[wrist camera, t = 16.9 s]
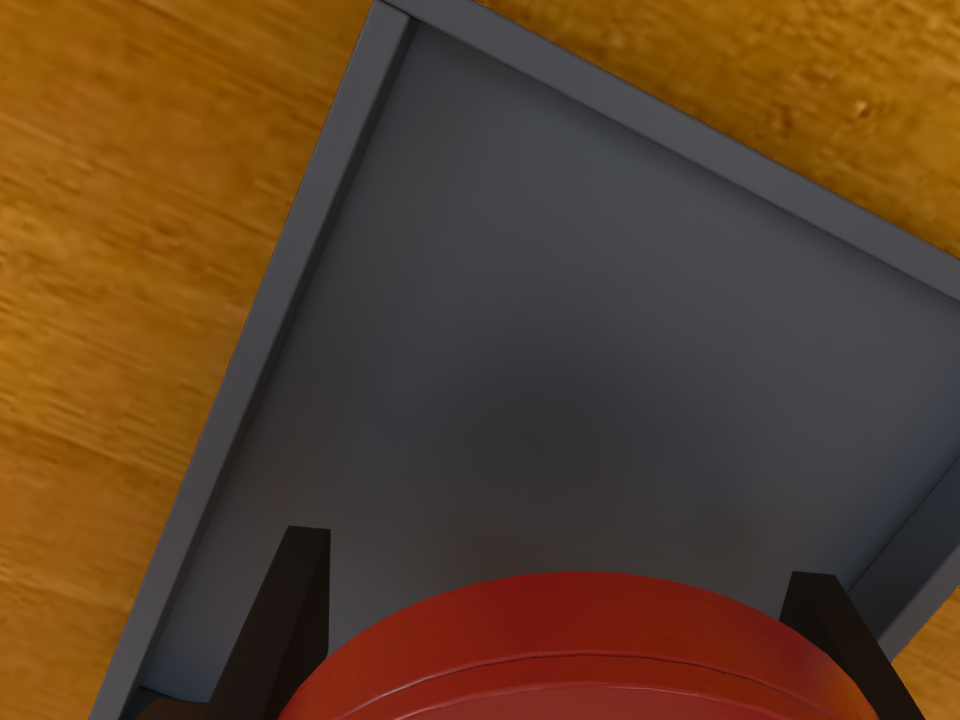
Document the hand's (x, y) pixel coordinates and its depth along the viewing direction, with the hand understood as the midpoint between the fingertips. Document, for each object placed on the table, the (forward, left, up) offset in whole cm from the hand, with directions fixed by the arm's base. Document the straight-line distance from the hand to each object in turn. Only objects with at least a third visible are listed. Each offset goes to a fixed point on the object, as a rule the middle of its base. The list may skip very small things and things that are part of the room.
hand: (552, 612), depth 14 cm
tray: (0, 0, -3) cm, 3 cm away
